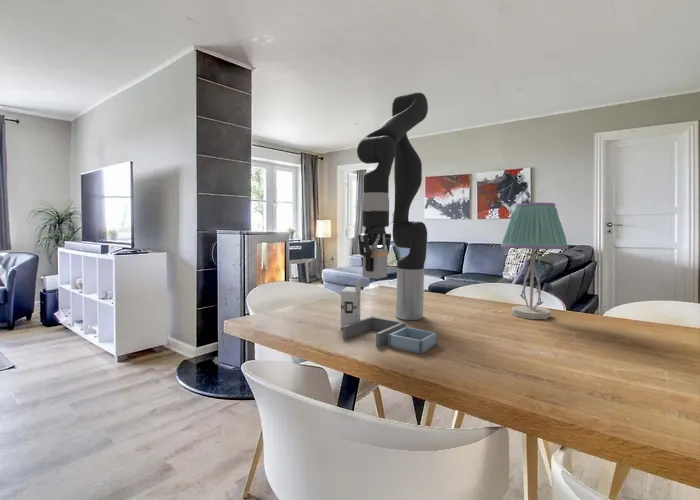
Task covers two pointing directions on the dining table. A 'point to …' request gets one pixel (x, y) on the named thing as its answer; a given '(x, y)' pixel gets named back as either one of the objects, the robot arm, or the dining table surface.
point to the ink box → (350, 304)
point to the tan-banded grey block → (377, 264)
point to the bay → (373, 323)
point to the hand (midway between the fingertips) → (374, 269)
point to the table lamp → (534, 246)
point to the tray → (412, 340)
